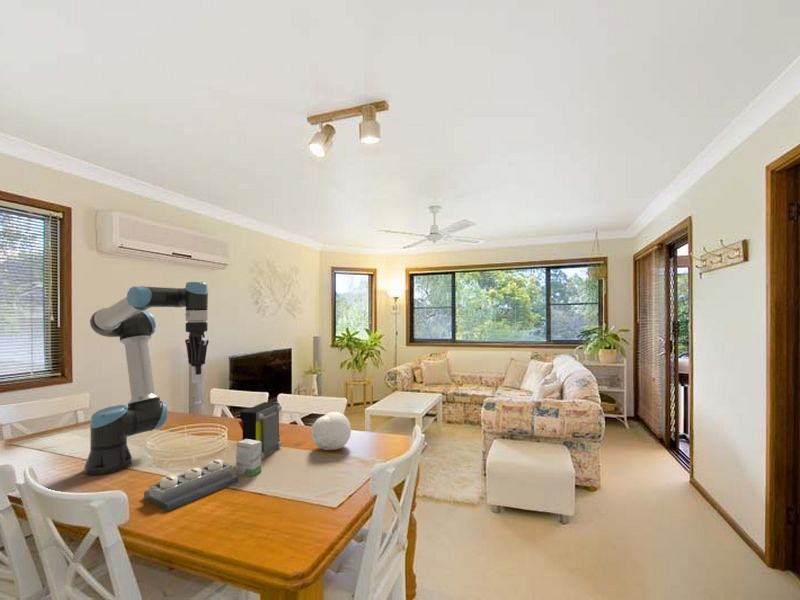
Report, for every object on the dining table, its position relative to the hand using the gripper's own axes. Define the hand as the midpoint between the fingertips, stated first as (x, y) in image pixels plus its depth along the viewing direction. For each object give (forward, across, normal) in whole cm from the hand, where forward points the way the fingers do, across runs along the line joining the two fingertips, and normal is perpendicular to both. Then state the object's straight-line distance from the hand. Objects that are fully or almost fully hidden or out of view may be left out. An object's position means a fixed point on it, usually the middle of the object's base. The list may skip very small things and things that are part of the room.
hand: (196, 382), depth 146 cm
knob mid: (+32, +13, -8) cm, 35 cm away
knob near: (+32, +13, -16) cm, 38 cm away
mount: (+34, +13, -8) cm, 38 cm away
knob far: (+32, +13, 0) cm, 34 cm away
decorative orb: (+35, +27, +46) cm, 64 cm away
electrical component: (+35, +4, +26) cm, 44 cm away
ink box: (+35, +17, +11) cm, 40 cm away
